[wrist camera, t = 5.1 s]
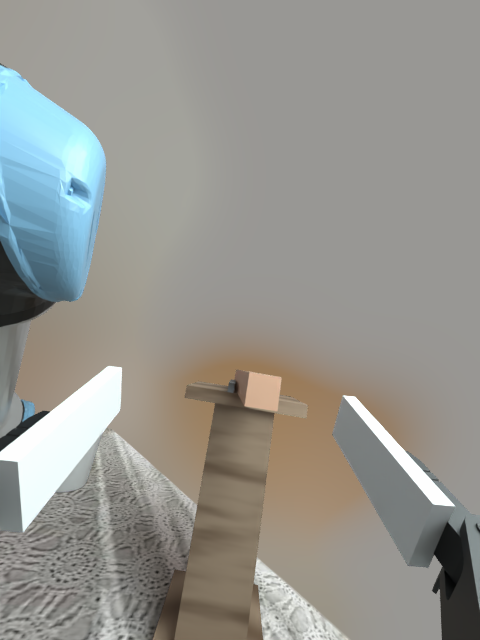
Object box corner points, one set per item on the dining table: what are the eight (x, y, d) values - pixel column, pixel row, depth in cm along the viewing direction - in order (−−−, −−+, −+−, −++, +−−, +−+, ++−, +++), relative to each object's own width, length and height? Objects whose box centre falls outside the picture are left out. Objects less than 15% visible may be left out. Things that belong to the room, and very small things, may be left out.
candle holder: (98, 484, 58) (111, 433, 61) (52, 500, 50) (69, 439, 53) (77, 470, 63) (90, 423, 66) (33, 482, 55) (50, 428, 57)
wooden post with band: (281, 726, 23) (312, 397, 29) (122, 694, 23) (186, 376, 30) (266, 599, 36) (289, 388, 42) (162, 580, 36) (201, 374, 42)
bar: (277, 411, 21) (281, 377, 22) (244, 406, 21) (249, 372, 22) (249, 388, 45) (251, 372, 45) (233, 385, 44) (236, 369, 45)
